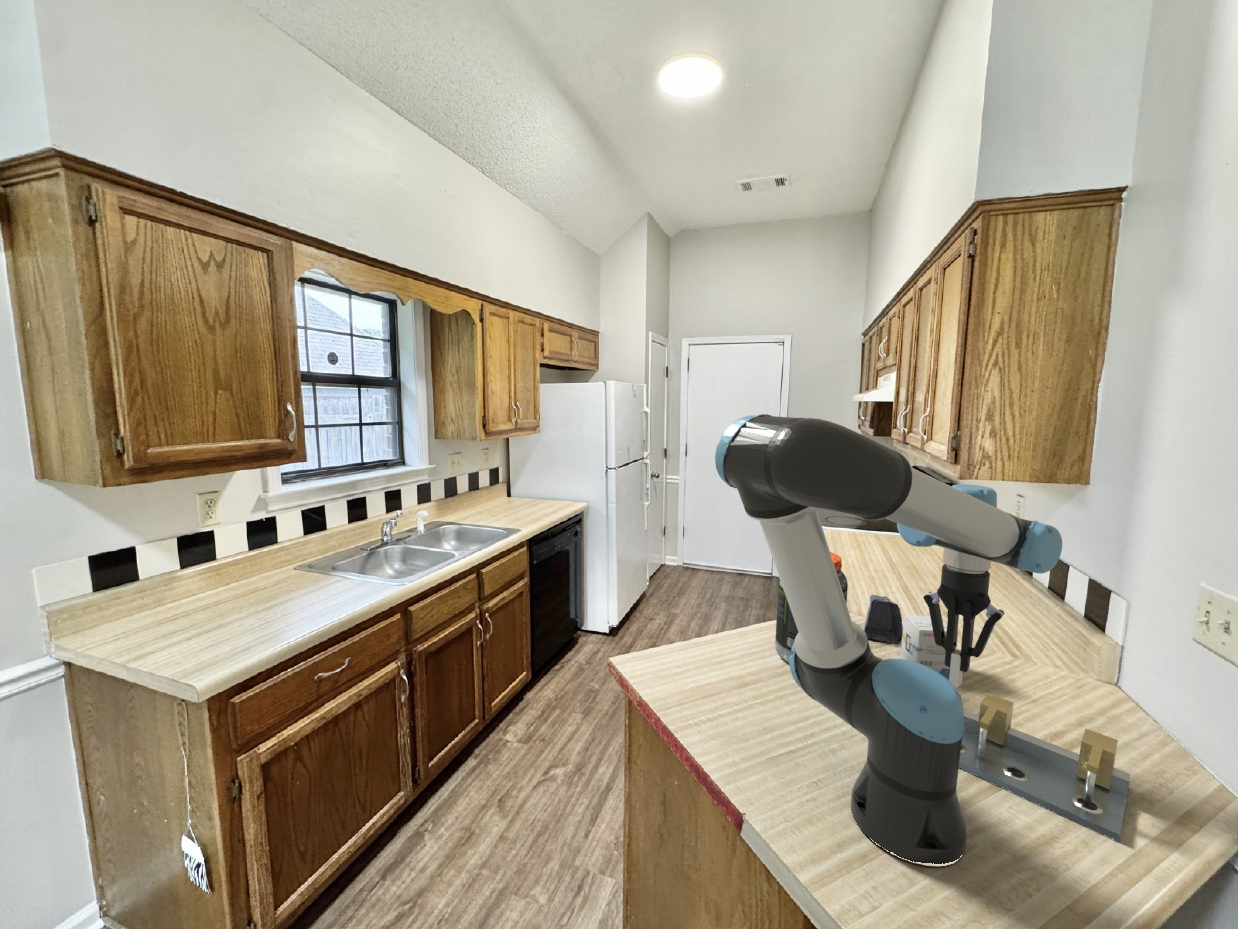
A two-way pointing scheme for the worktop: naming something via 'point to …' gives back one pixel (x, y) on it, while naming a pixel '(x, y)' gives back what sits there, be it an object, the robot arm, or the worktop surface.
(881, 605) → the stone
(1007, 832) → the worktop surface
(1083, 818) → the grey peg fixture
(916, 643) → the ink box
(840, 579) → the supplement tub
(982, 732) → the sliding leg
